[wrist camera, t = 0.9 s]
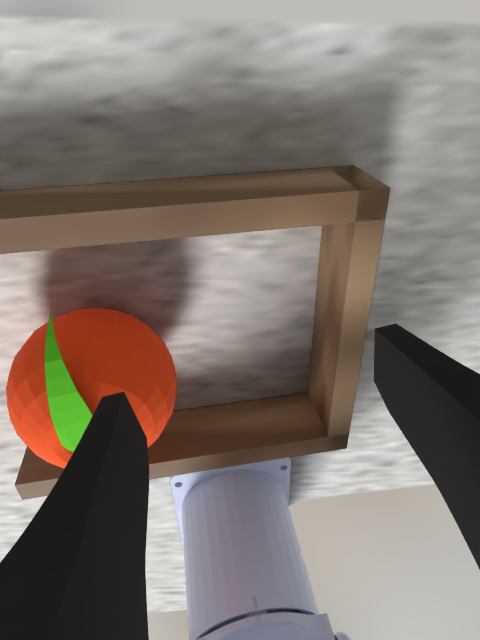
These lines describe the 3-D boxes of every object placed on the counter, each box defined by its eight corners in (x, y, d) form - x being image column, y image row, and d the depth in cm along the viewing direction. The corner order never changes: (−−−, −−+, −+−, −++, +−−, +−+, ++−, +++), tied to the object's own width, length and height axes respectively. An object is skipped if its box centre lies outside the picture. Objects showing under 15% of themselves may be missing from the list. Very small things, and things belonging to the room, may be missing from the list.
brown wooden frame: (325, 403, 26) (346, 448, 23) (38, 445, 24) (22, 499, 21) (353, 165, 18) (390, 187, 15) (-71, 195, 16) (-120, 229, 13)
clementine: (-9, 277, 18) (-86, 386, 13) (147, 243, 19) (143, 334, 13) (63, 404, 23) (32, 528, 17) (188, 375, 23) (198, 487, 17)
